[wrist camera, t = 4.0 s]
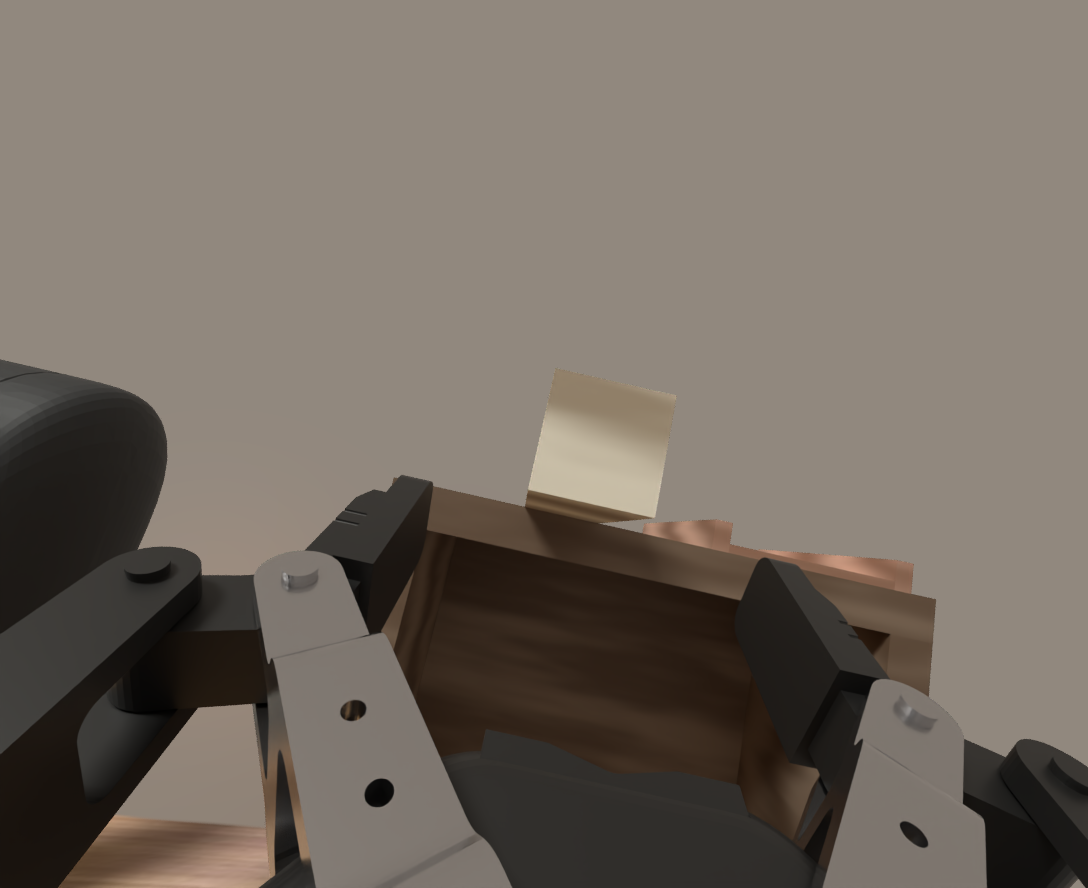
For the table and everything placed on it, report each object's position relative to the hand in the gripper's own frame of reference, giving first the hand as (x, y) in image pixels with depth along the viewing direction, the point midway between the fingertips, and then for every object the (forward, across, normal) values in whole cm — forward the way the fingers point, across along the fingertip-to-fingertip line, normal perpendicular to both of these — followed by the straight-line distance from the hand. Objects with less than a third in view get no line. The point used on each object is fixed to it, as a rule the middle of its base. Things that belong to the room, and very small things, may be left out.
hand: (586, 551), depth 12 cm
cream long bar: (+12, 0, +6) cm, 13 cm away
